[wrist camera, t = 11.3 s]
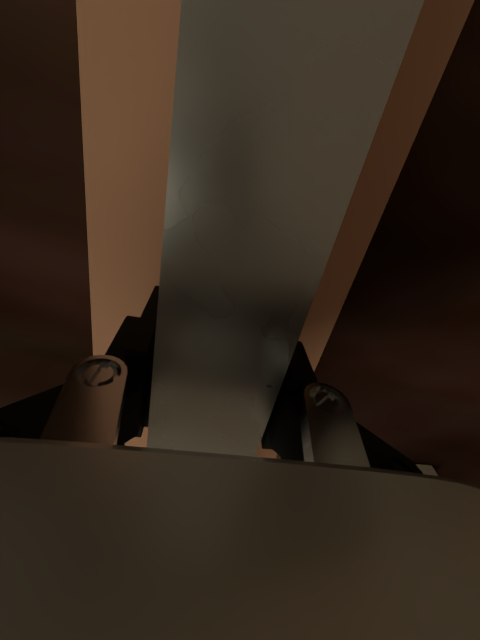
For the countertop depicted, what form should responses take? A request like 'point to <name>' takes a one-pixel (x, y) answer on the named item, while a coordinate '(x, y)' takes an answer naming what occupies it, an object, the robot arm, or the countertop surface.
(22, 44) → the countertop surface
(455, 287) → the countertop surface
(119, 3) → the terracotta mat
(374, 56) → the steel rail
